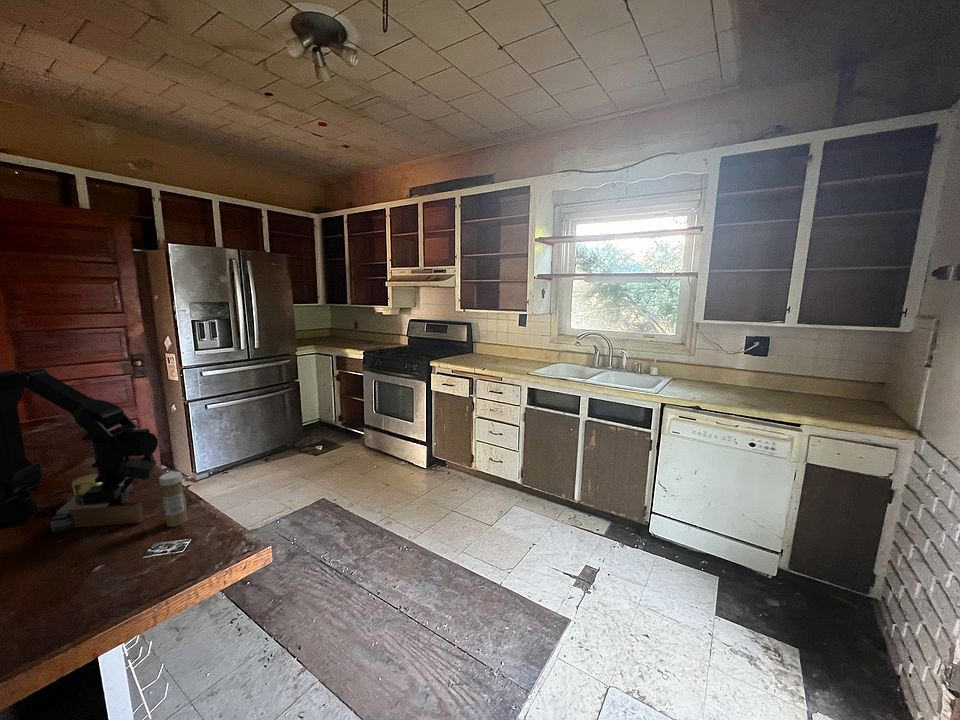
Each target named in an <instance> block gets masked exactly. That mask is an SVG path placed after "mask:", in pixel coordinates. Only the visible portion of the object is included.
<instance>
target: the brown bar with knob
mask: <svg viewBox="0 0 960 720" xmlns="http://www.w3.org/2000/svg"><path fill="white" fill-rule="evenodd" d="M144 519H145V516H144V513H143V505H142V501H132V502H131V501H129V502H124V503H114V504H99V505H85V506H74V507H73V508H71V509H70V510H65V511H62V512H59V513H57V514H56V513H55V515H54V516H53V517H52V518H51V519H50V521H49V523H50V527H51V532H52V533H53V534H60V533H64V532H69V531H71V530H73V529H76V528H86V527H87V528H88V527H99V526H112V525H114V526H115V525H123V524H124V525H125V524H126V525H127V524H138V523H141V522H143V520H144Z"/></svg>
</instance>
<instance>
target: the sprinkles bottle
mask: <svg viewBox="0 0 960 720" xmlns="http://www.w3.org/2000/svg"><path fill="white" fill-rule="evenodd" d="M158 481H159V486H160V488H161V495H162V503H163V508H164V514H165V519H166V526H167V527H171V528H172V527H173V528H174V527H179V526H181V525H183V524H185V523H186V522H187V521H188V519H189V517H188V515H187V514H188V513H187V504H186V498H185V493H184V488H183V487H184V486H183V482H182V481H183V475H182V472H181V471H169V472H166V473H164V474H162V475H160V476H159V477H158Z"/></svg>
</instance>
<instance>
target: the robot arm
mask: <svg viewBox="0 0 960 720" xmlns="http://www.w3.org/2000/svg"><path fill="white" fill-rule="evenodd" d="M25 389H27V390H28V391H30V392H32V393H34V394H35V395H38V396H40V397H41V398H43V399H44V400H46V401H48V402H50V403H51V404H54V405H55V406H57V407H59V408H60V409H62V410H63V411H66V412H67V413H69V414H70V415H72V416H73V419H74V422H75V423H76V424H77V425H78V427H81V428H82V429H83V430H84V431H86V432H87V433H86V434H85V435H83V436H82V437H81V441H90V443H91V447H92V452H93V456H94V462H92V463H91V468H92V469H95V468H96V471H97V473H98V477H97V478H96V479H95V483H100V482H102V483H103V484H102V485H99V486H92V487H91V488H90V489H89V490H88V491H87V492H86V493H85V494H84V495H83V496H82V497H81V499H82V504H83V505H89V504H96V503H102V502H108V503H110V504H114V503H125V500H126V496H127V495H126V490H127V487H128V486H129V485H130V484H131V483H132V482H133V481H134V480H135V479H140V480H144V481H145V480H149V479H150V477H151V476H152V475H153V474H154V470H155V467H156V465H157V464H158V463H157V462H156V461H157V460H156V459H155V457H154V453H155V452H156V450H157V448H158V446H159V445H158V444H159V440H158V438H157V436H156V434H154V433H153V432H150V428H140V429H139V428H138V426H137V424H135V422H134V420H132V419H131V418H130V417H129V416H128V415H127V414H126V413H125V411H124V409H123V408H121V407H120V406H118V405H116V404H114V403H112V402H110V401H106V400H101V399H95V398H92V397H89V396H87V395H86V394H84V393H83V392H81V391H79V390H77V389H75V388H74V387H72V386H70V385H68V384H67V383H65V382H64V381H61V380H60V379H59V378H56V377H54V376H53V375H52V374H50V373H49V372H48V371H47V370H46V369H44V368H38V367H37V368H32V369H27V370H23V371H19V372H18V371H16V370H12V369H5V370H0V529H2V528H3V529H4V528H8V527H15V526H20V525H24V524H26V523H27V522H29V521H30V520H31V519H33V518H34V517H35V516H36V515H38V513H40V509H37V503H36V500H35V499H34V498H33V497H32V493H33V492H36V491H38V488H39V484H40V483H41V479H42V478H43V477H44V476H43V474H42V471H41V464H40V463H37V462H36V463H33V461H31V460H29V459H28V457H27V453H26V449H25V442H24V437H23V432H22V425H21V419H20V415H19V407H18V405H19V403H20V401H21V400H22V397H23V396H24V394H25ZM115 427H116V428H115ZM113 428H114V429H113ZM137 428H138V429H137ZM140 456H141V458H140ZM132 457H137V458H132ZM97 473H96V474H97ZM132 484H133V483H132Z"/></svg>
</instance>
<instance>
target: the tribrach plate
mask: <svg viewBox="0 0 960 720" xmlns="http://www.w3.org/2000/svg"><path fill="white" fill-rule="evenodd" d="M97 477H98V473H93V474H87V475H84V476H79V478H76V479H75V480H73V481H72V482H71V485H72V490H73V491H72V492H73V497H71V498H70V500H68V501H67V502H66V503H65V504H64V505H62V506H61V507H60V508H59V509H58V510H57V511H56V512H55V515H56V514H57V513H59V512H62V511H65V510H70V509H71V508H73V507H74V506H85V505H83V504H82V499H81V497H82V496H83V495H84V494H85V493H86V492H87V491H88V490H89V489H90V488H91V487H92V486H99V485H102V484H103V483H102V482H100V483H95V479H96V478H97ZM132 489H133V483H131V484H130V485H129V486H128V487H127V490H126V496H127V495H128V494H129V493H130V491H132ZM99 504H110V503H108V502H102V503H96V504H89V505H99Z"/></svg>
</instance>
